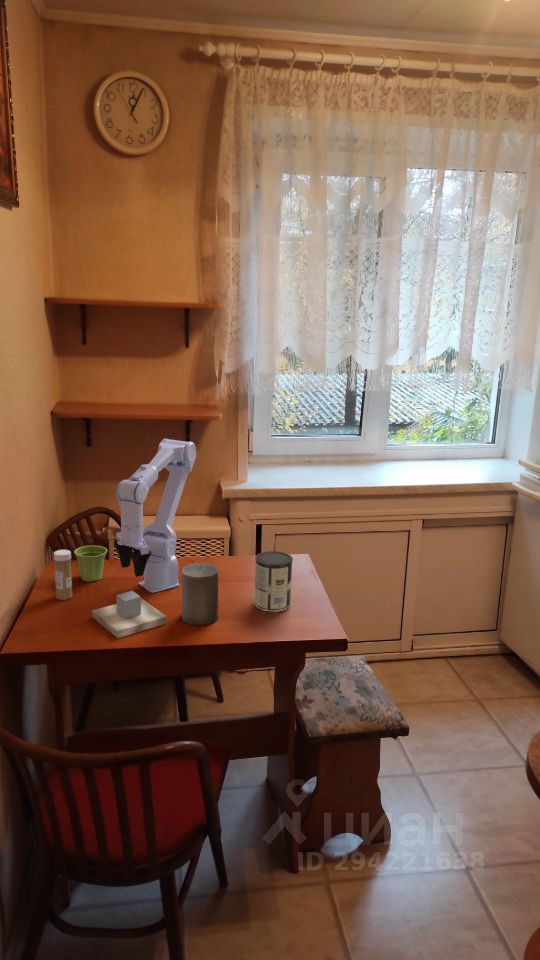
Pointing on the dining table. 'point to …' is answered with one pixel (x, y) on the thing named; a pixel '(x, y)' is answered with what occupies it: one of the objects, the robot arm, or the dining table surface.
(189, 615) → the pillar candle
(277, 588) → the coffee can
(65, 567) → the sprinkles bottle
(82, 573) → the plant pot
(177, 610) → the dining table surface
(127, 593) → the grey block
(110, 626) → the birch base
